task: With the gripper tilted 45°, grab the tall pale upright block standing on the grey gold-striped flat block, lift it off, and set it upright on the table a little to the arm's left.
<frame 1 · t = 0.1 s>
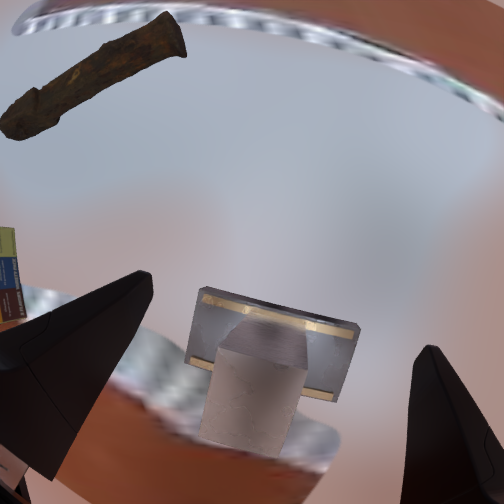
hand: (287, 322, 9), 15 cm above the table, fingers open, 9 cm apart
grey gold-striped flat block: (271, 342, 24), on the table
dark brown rod: (93, 98, 28), on the table
pale upright block: (269, 350, 22), point 2 cm above the table, touching grey gold-striped flat block
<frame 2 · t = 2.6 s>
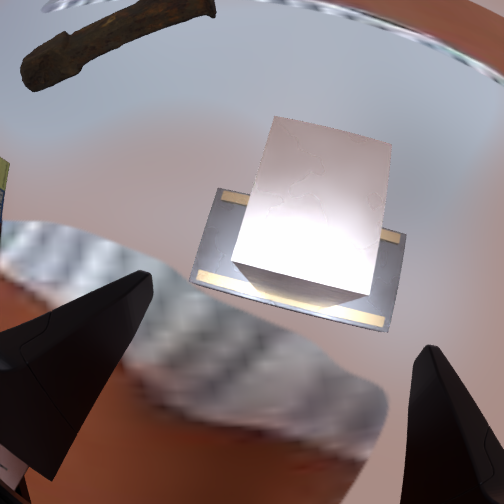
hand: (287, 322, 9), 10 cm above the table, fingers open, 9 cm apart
grey gold-striped flat block: (300, 263, 20), on the table
dark brown rod: (119, 51, 27), on the table
pale upright block: (302, 256, 18), point 2 cm above the table, touching grey gold-striped flat block
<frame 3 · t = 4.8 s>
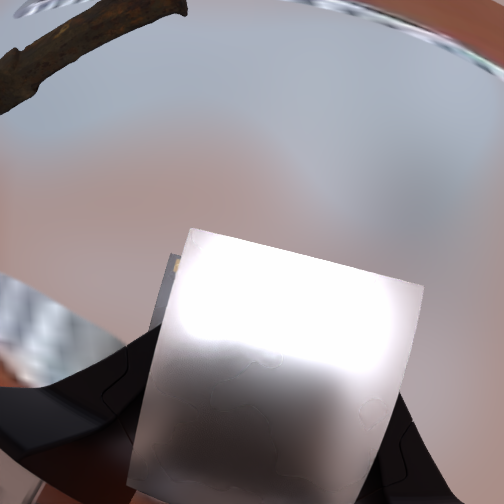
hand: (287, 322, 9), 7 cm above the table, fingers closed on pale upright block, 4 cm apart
grey gold-striped flat block: (278, 347, 16), on the table
dark brown rod: (78, 65, 22), on the table
pale upright block: (277, 352, 13), point 2 cm above the table, touching gripper, grey gold-striped flat block
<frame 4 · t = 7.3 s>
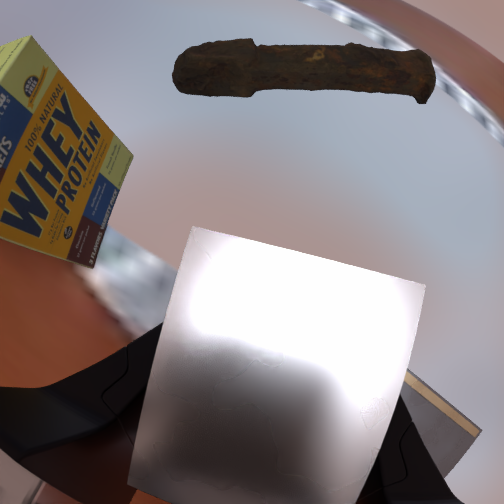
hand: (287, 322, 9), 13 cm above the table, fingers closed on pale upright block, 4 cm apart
grey gold-striped flat block: (402, 421, 19), on the table
dark brown rod: (305, 91, 26), on the table
pale upright block: (277, 351, 13), point 8 cm above the table, touching gripper
protein box: (55, 196, 26), on the table
when the fingers open (6 cm above the table, at t = 9.6 s): pale upright block drops 2 cm, on the table.
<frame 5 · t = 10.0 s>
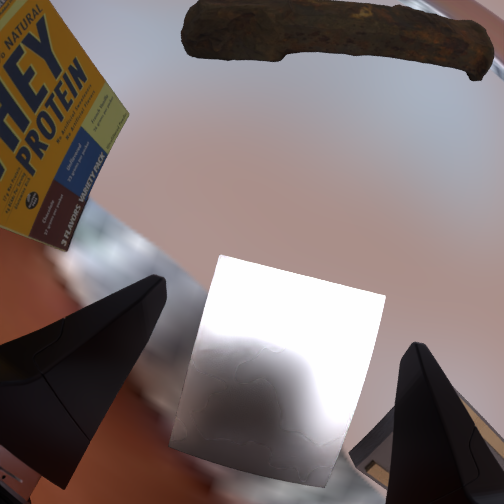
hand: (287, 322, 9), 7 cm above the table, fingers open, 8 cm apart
grey gold-striped flat block: (447, 462, 13), on the table
dark brown rod: (345, 58, 19), on the table
pale upright block: (279, 347, 16), on the table
protein box: (34, 163, 20), on the table
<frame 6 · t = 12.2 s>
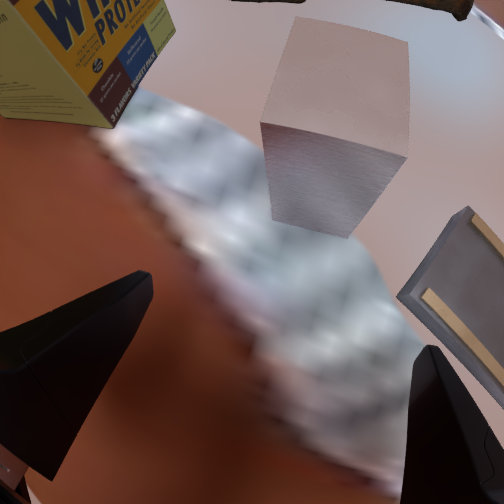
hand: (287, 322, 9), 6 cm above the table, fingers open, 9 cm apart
grey gold-striped flat block: (490, 322, 14), on the table
dark brown rod: (355, 3, 21), on the table
pale upright block: (319, 186, 17), on the table
protein box: (80, 74, 21), on the table
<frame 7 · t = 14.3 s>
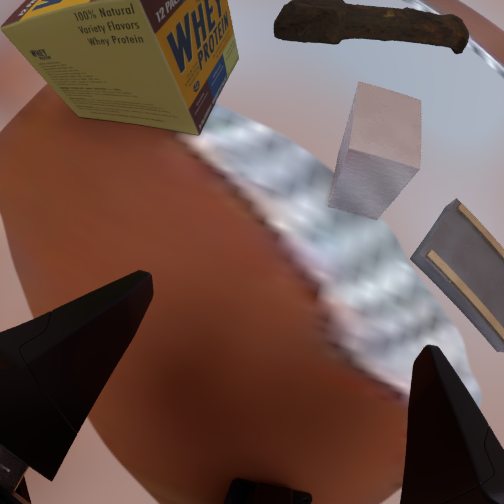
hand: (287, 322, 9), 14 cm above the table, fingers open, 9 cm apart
grey gold-striped flat block: (476, 280, 22), on the table
dark brown rod: (376, 43, 28), on the table
pale upright block: (357, 184, 24), on the table
protein box: (155, 86, 29), on the table
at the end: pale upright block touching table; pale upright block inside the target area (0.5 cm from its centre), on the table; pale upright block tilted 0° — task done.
